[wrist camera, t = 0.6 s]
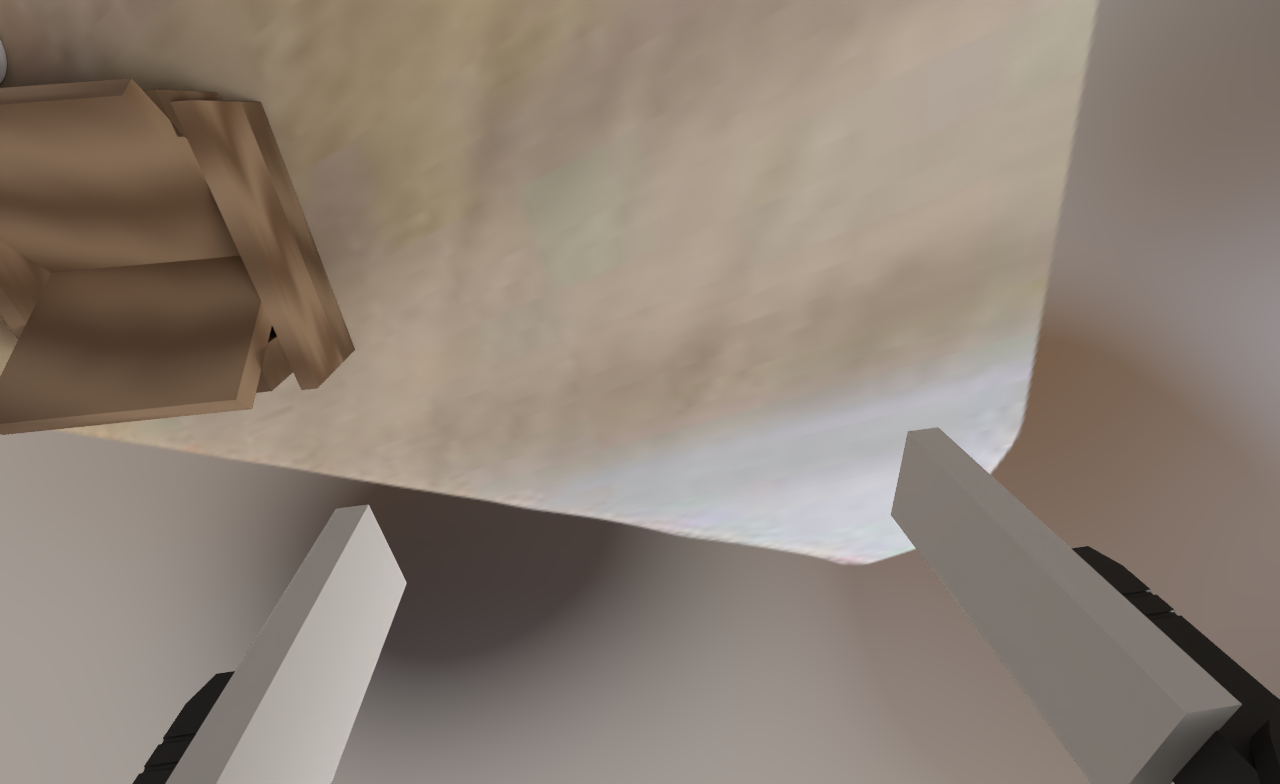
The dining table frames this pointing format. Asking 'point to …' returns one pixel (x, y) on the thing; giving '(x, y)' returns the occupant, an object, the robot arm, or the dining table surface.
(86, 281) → the wooden box with flaps
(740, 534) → the dining table surface
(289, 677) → the robot arm
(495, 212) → the dining table surface
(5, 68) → the pill bottle
